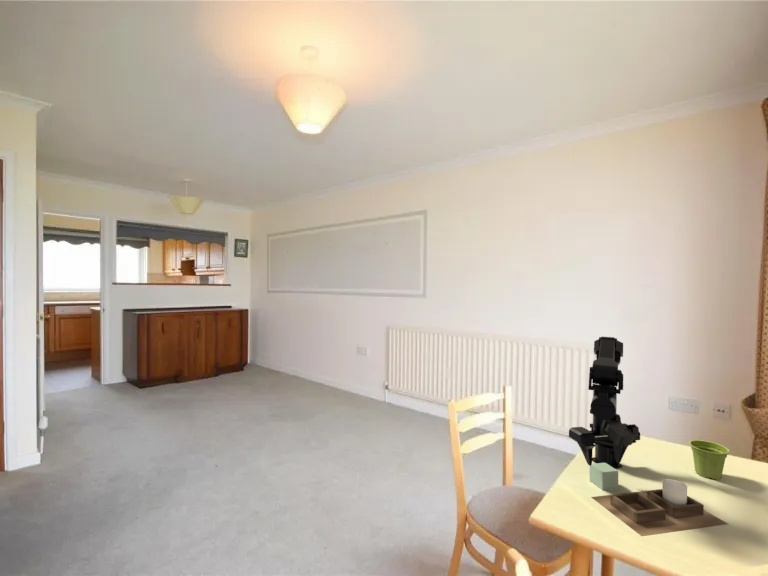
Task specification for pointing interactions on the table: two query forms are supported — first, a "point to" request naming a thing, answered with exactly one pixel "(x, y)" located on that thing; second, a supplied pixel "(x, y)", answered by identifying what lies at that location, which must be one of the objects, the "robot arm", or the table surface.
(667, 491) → the cream cylinder
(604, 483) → the sage block
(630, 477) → the table surface
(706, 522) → the socket board
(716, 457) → the plant pot
